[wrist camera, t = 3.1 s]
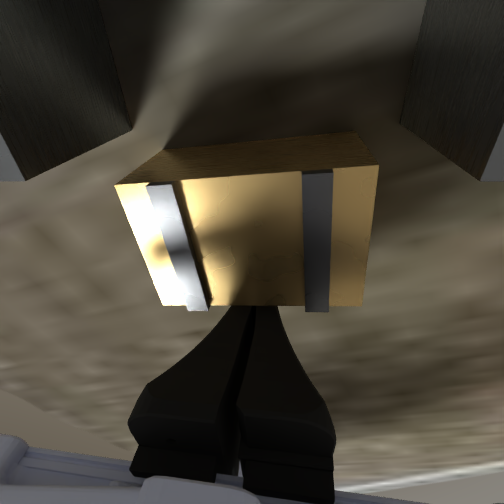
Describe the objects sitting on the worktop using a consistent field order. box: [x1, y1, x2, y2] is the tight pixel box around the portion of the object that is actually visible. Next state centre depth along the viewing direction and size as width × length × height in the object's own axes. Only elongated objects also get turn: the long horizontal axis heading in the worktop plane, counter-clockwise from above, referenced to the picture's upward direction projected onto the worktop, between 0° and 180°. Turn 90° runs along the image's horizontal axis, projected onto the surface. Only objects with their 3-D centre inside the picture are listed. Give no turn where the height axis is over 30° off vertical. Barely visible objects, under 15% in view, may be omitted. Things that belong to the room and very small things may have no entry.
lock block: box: [114, 131, 379, 312], centre depth 11 cm, size 5×8×4 cm, turn 97°
